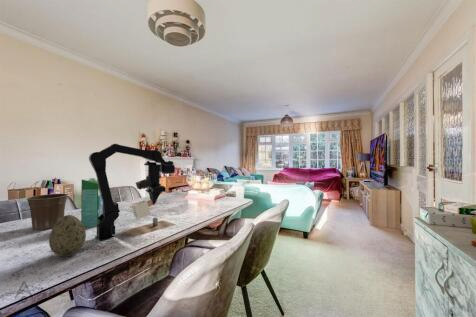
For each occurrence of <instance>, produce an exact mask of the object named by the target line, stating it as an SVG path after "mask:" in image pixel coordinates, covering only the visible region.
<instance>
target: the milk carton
mask: <svg viewBox="0 0 476 317" xmlns="http://www.w3.org/2000/svg"><path fill="white" fill-rule="evenodd" d="M108 183H110V182H109V181H108ZM80 192H81V199H80V200H81V202H80V203H81V206H80V207H81V210H80V212H81V216H80V218H81V219H80V221H81V222H82V224H83V226H84V227H96V228H97V225H98V224H99V223H98V221H97V218H98V217H99V216H100V215H101V214H102V204H103V201H102V197H101V193H100V189H99V185H98V181H97V178H95V177H90V178H84V179H81V191H80Z"/></svg>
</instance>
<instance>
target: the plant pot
mask: <svg viewBox="0 0 476 317" xmlns="http://www.w3.org/2000/svg"><path fill="white" fill-rule="evenodd" d="M68 196H69V194H68V193H50V194H41V195H40V194H39V195H33V196H29V197H27V198H26V200H27V203H28V207H29V211H30V212H29V213H30V219H31V227H32V230H34V231H45V230H47V229H51V230H52V229H53V227H54V225H55V224H56V223H57V222H58V221H59V220H60V219H61V218H62V217H64V216H65V213H66V212H65V211H66V203H67V198H68Z"/></svg>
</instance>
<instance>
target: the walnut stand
mask: <svg viewBox="0 0 476 317" xmlns="http://www.w3.org/2000/svg"><path fill="white" fill-rule="evenodd" d="M158 219H159V218H158V217H156V216H155V217H153V218H152V223H148V224H143V225H140V226H135V227H132V228H129V229H126V230H125V229H124V230H121V232H122V233H124V234H126V235H129V236H131V237H133V238H135V237H138V236H143V235H145V234H148V233H149V234H150V233H152V232H156V231H159V230H162V229H166V228H169V227H172V226H175V225H177V224H176V223H173V222H170V221H167V220H164V219H162V220H158Z"/></svg>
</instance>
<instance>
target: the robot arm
mask: <svg viewBox="0 0 476 317" xmlns="http://www.w3.org/2000/svg"><path fill="white" fill-rule="evenodd" d="M116 153H118V154H124V155H130V156H135V157H140V158H142V159H145V160H147V161H146V162H145V163H144V164H143V165H144V166H147V169H148V170H147V175H146V177H145V179H141V180H139V181H136V182H135V186H136V188H137V189H138V190H142V189H143V190H145V192H147V193H148V196H149V200H152V203H153V204H155V205H156V203H157V201H158V199H159V197H160V195H161V193H166V190H167V187H165V186H164V185H162V184H161V183H160V180H161V178H162V176H161V174H164V175H166V174H171V175H173V174H174V173H175V171H176V168H175V164H174V161H171V160H169V161H166V160H165V159H164V158H163V156H162V152H161V151H160V150H158V149H141V148H137V147H131V146H127V145H123V144H122V145H121V144H118V143H113V144H110V146H108V147H105V148H104V149H102V150H100V151H94V152H91V153H90V154H89V156H88V160H89V163H90V165H91V167H92V169H93V170H94V172H95V176H96V179H97V181H98V185H99V189H100V193H101V197H102V201H103V204H102V214H101V215H100V216H99V217H98V218H97V221H98V223H99V224H98V225H97V227H96V235H95V237H94V238H95V239H96V240H97V241H99V242H102V241H105V240H108V239H112V238H115V237H116V236H114V235H116V225H115V221H116V220H118V218H119V216H120V213H121V211H120V207H119V203H118V202H117V201H114V200H113V196H112V193H111V192H112V191H111V189H110V185H109V183H110V182H109V181H108V180H109V179H108V176H107V172H106V168H107V159H108V158H110V157H111V156H113V155H115V154H116ZM108 182H109V183H108Z"/></svg>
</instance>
